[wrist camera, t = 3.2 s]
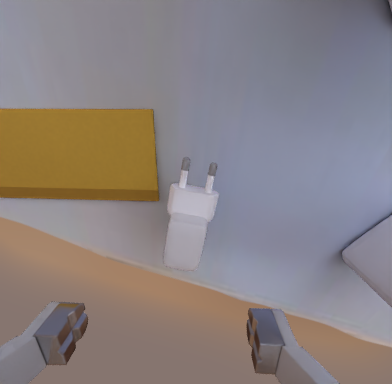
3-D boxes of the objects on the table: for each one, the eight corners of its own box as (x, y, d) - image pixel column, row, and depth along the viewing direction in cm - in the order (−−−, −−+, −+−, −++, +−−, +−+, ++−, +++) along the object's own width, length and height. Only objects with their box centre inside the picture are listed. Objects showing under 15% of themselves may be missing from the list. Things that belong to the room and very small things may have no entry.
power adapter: (179, 149, 20) (170, 159, 15) (223, 158, 21) (229, 171, 15) (166, 235, 24) (155, 268, 19) (203, 242, 24) (202, 277, 19)
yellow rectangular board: (153, 109, 19) (151, 109, 19) (159, 200, 23) (158, 201, 22) (-33, 108, 20) (-39, 108, 20) (0, 196, 23) (-4, 197, 23)
